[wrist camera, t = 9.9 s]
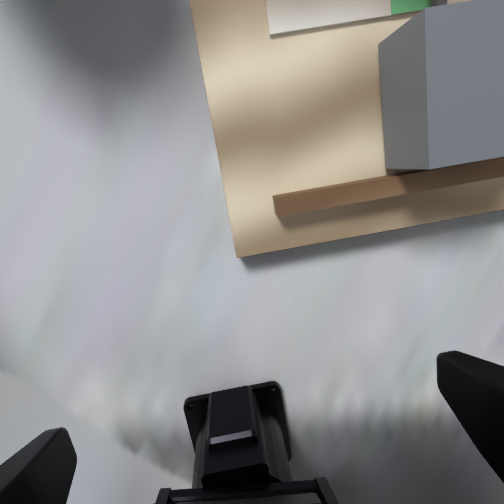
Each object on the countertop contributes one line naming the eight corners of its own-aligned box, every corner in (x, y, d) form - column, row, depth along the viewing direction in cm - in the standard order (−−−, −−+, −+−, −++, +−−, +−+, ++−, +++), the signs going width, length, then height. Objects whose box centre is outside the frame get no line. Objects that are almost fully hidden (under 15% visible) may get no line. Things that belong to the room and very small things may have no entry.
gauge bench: (626, 180, 21) (832, 189, 14) (235, 251, 21) (242, 298, 13) (656, -66, 18) (946, -220, 11) (190, 6, 17) (166, -109, 10)
